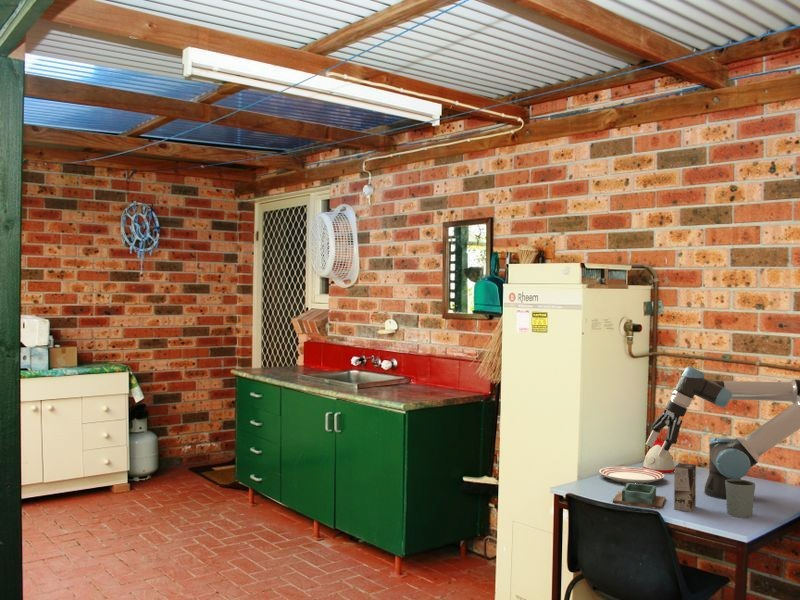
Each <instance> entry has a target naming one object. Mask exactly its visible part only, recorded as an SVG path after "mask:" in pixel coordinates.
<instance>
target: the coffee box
mask: <svg viewBox="0 0 800 600" xmlns="http://www.w3.org/2000/svg"><path fill="white" fill-rule="evenodd" d="M674 466H675V472H674V481H673V482H674V483H673V484H674V486H673V487H674V488H673V489H674V491H673V493H674V495H673V503H674V504H673V509H674V510H678V509H679V510H678V511H684V510H685V511H686V512H692V511H693V510H694V508H695V507H696V500H697V499H696V498H697V497H696V487H697V486H696V483H697V481H696V479H697V477H696V475H697V474H696V473H697V469H696V467H697V464H691V463H681V462H680V463H677V465H674Z"/></svg>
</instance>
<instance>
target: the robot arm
mask: <svg viewBox="0 0 800 600" xmlns="http://www.w3.org/2000/svg"><path fill="white" fill-rule="evenodd" d="M705 376H706V374H705V373H704V372H703V371H701V370H699V369H697V368H695V367H692V366H687V367H685V369H684V371H683V372H682V374H681V376H680V378H679V380H678V382H677V384H676V386H675V389H673V390H674V391H673V392H672V393H671V396H670V400H668V402H667V404H666V405H665V409H663V411H662V412H661V414H659V416H658V417H657V418H656V419H655V420H654V422H653V423H652V424H651V426H650V427H651V429H652V431H651V432H650V435H649V436H648V438H647V441H646V442H645V445H646V446H649V447H650V448H652V447H653V445H654V443H655V441H656V440H657V438H659V435H660V433H661V431H662V430H663V429H664V428H665V427H666V426H667V435H666V439H664V444H663V446H662V448H661V450H660V452H659V454H658V456H660V457H662V458H664V459H665V457H666V455H667V453H668V451H669V452H670V448H671V446H672V445H676V444H677V442H678V437H679V433H680V429H681V426H682V423H683V420H682V419H680V417H682V418H683V417H685V415H686V413H687V411H688V409H687V408H689V407H690V405H691V403H692V402H693V400H694V397H695V396H696V397H698V398H701V399H703V400H705V401H707V402H709V403H711V404H713V405H715V406H718V407H720V408H726V406H728V404H729V402H730V400H733V401H734V400H738V401H739V400H740V401H770V402H772V401H775V402H791V403H792V404H791V405H789V406H788V407H787V408H785V409H784V410H782V411H781V412H780V413H778V414H776V415H775V416H774V417H772V418H770V419H769V420H767V421H766V422H765V423H763V424H762V425H761V426H759V427H758V428H756V429H755V430H753V431H752V432H750V433H749V434H747V435H746V436H745V437H743V438H741V437H736V438H728V437H727V438H726V437H710V439H709V442H708V448H709V458H708V459H709V461H708V462H709V463H708V464H709V467H708V469H709V472H708V473H709V474H708V476H707V479H706V482H705V484H704V494H705V495H708V496H710V497H712V498H713V497H714V498H718V499H725V500H726V486H725V480H728V479H739V480H742V478H744V477H745V476H746V475H747V474H749V472H750V469H751V468H753V466H755V465H757V464H758V463H759V458H760V457H761V456H762V455H764V454H765V453H767V452H768V451H770V450H771V449H773V448H774V447H776V446H777V445H779V444H780V443H782V442H783V441H784V440H786V439H787V438H789V437H790V436H791V435H793V434H794V433H797V431H798V432H799V430H800V379H792V380H791V381H756V380H755V381H749V380H747V381H744V380H741V381H739V380H712V379H706V378H705Z"/></svg>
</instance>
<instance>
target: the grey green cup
mask: <svg viewBox="0 0 800 600" xmlns="http://www.w3.org/2000/svg"><path fill="white" fill-rule="evenodd" d="M725 486H726V499H725V500H726V502H725V503H726V513H727V515H729V516H730V517H735V518H742V519H749V518H752V517H753V513H754V510H753V508H754V503H755V502H754V500H755V499H754V498H755V490H756V482H754V481H750V480H746V479H745V480H744V479H741V480H739V479H728V480H725Z"/></svg>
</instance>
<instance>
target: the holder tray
mask: <svg viewBox="0 0 800 600" xmlns="http://www.w3.org/2000/svg"><path fill="white" fill-rule="evenodd" d="M665 501H666V496H664V495H662V496H661V495H657V486H656V485H650V484H634V483H625V486H624V487H623V489H622V490H621V491H619V490H618V492H617V493H616V495H615V496H614V498H613V499H612V504H619V503H621V504H620V505H627V504H631V505H630V506H635V505H640V506H639V507H643V506H646V508H652V507H655V508H654V509H660V508H661V509H662V507H663V506H664V504H665ZM663 503H664V504H663ZM662 505H663V506H662Z"/></svg>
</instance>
